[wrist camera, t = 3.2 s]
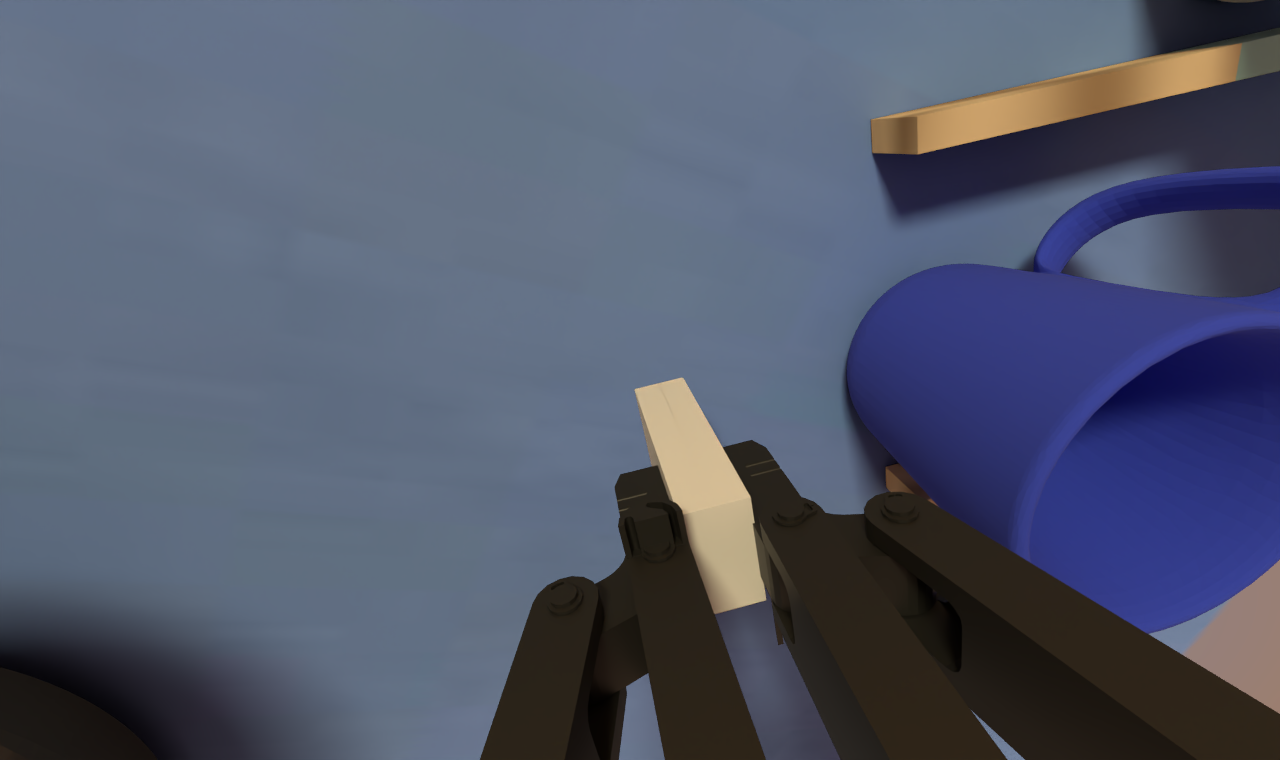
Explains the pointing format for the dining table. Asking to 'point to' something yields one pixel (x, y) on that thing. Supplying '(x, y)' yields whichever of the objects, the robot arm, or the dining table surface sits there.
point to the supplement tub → (1241, 1)
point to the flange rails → (1046, 119)
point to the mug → (1092, 409)
